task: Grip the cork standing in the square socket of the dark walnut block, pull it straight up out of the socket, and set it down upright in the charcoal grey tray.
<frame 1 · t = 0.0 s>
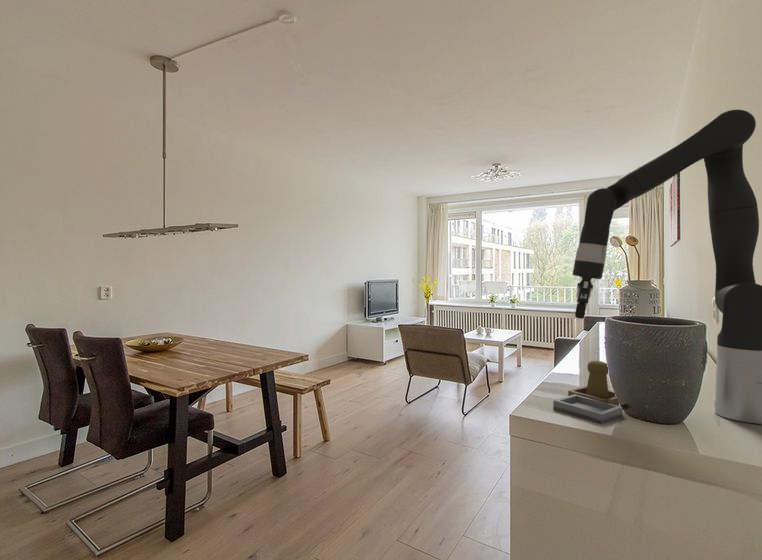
hand: (579, 316, 113), 22 cm above the table, tool pointing down, fingers open, 8 cm apart
tray: (587, 412, 99), on the table
socket block: (597, 401, 107), on the table
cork: (597, 402, 107), resting in socket block
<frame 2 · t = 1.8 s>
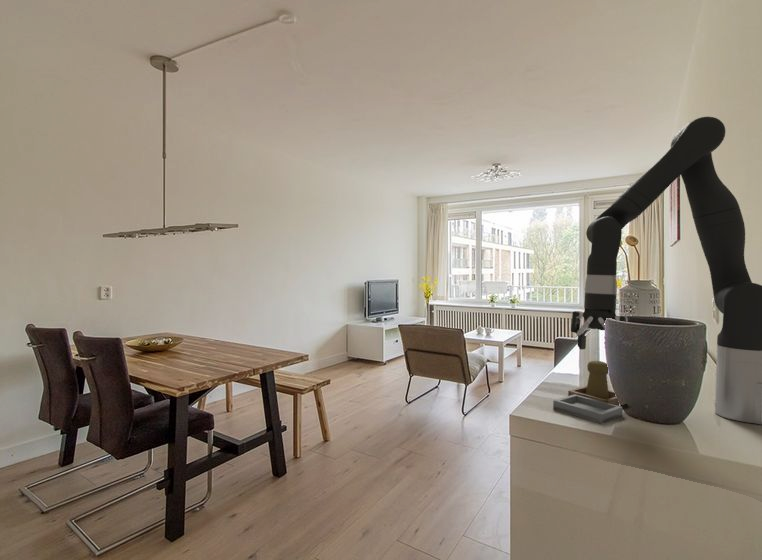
hand: (597, 351, 107), 14 cm above the table, tool pointing down, fingers open, 8 cm apart
nothing on the table moved.
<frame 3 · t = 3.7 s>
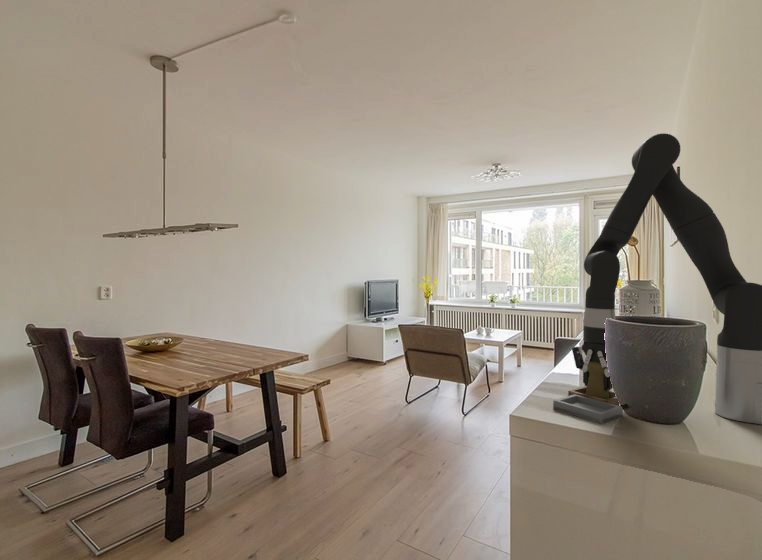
hand: (597, 387, 107), 4 cm above the table, tool pointing down, fingers closed on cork, 4 cm apart
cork: (597, 402, 107), resting in socket block, touching gripper
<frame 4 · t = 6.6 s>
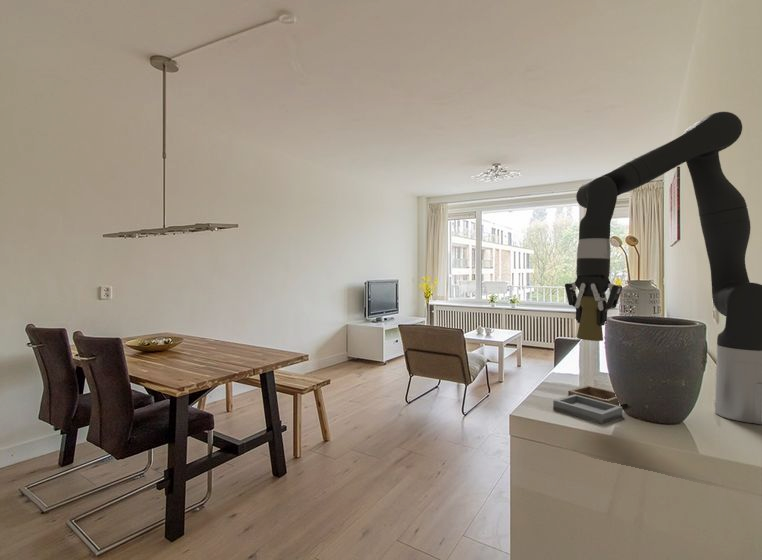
hand: (590, 323, 101), 22 cm above the table, tool pointing down, fingers closed on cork, 4 cm apart
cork: (589, 339, 101), point 18 cm above the table, touching gripper
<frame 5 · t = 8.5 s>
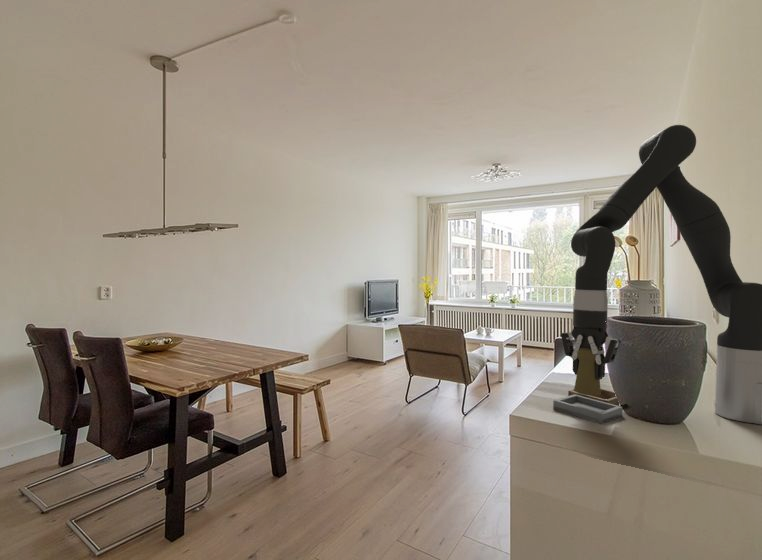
hand: (588, 376, 99), 9 cm above the table, tool pointing down, fingers closed on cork, 4 cm apart
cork: (587, 392, 99), point 5 cm above the table, touching gripper
when the fingers open (6 cm above the table, at t = 10.0 s): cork stays where it is, resting on tray.
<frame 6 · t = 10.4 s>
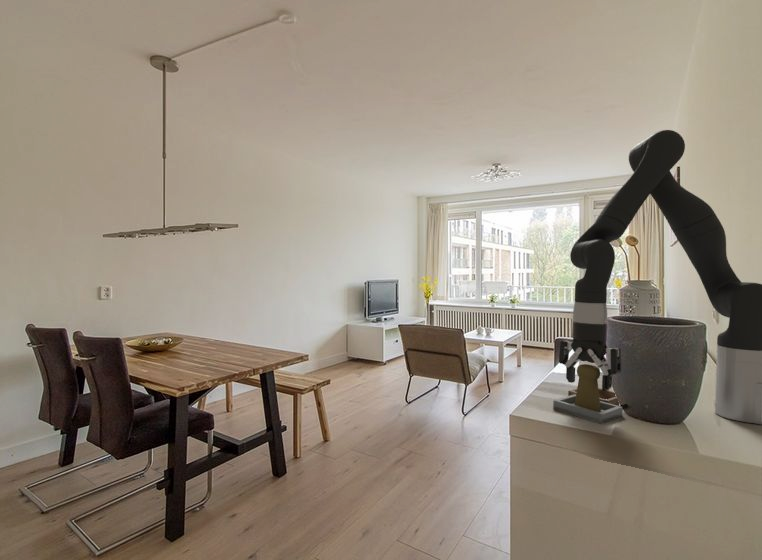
hand: (587, 385, 98), 7 cm above the table, tool pointing down, fingers open, 8 cm apart
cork: (587, 409, 99), point 1 cm above the table, touching tray
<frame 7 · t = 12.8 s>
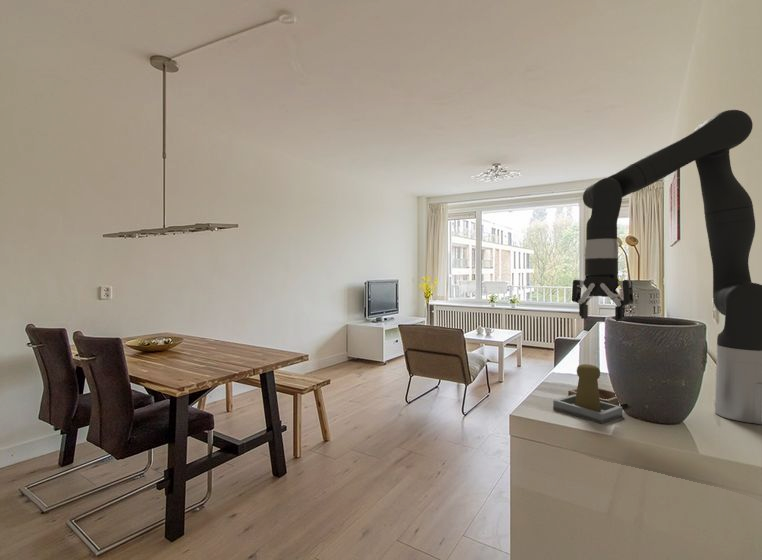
hand: (600, 319, 103), 23 cm above the table, tool pointing down, fingers open, 8 cm apart
nothing on the table moved.
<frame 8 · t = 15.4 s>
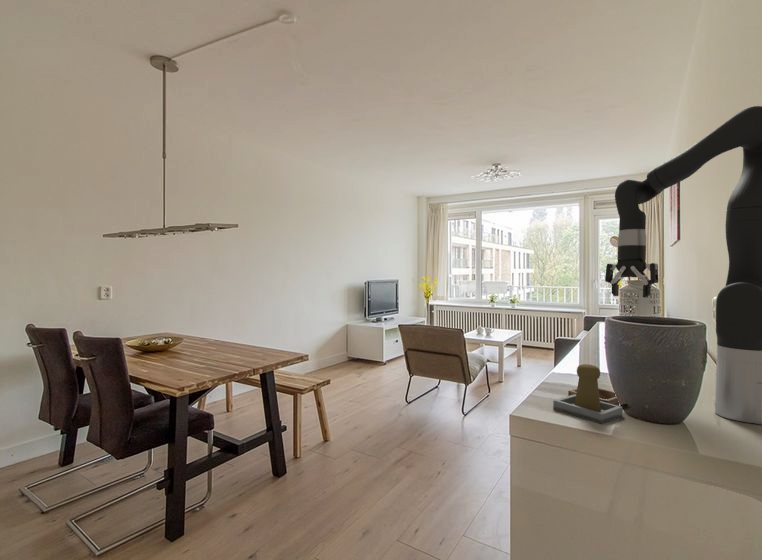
hand: (630, 296, 124), 28 cm above the table, tool pointing down, fingers open, 8 cm apart
nothing on the table moved.
at the end: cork 0.1 cm off-centre on the tray, point 0.6 cm above the tray's base; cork tilted 0°; the gripper is holding nothing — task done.
